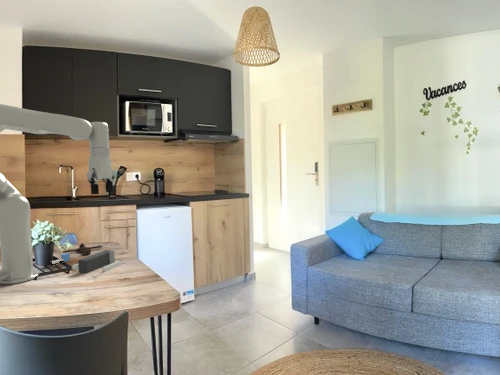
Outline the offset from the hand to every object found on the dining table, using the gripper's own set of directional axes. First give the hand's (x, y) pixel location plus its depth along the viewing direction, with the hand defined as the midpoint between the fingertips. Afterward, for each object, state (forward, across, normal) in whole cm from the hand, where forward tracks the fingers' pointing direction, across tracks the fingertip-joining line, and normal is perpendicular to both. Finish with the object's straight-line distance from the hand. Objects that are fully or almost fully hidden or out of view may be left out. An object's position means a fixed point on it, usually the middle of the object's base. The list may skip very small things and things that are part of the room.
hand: (102, 193), depth 145 cm
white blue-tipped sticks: (+30, +4, -8) cm, 31 cm away
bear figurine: (+31, -16, -24) cm, 42 cm away
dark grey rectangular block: (+30, +6, -1) cm, 31 cm away
